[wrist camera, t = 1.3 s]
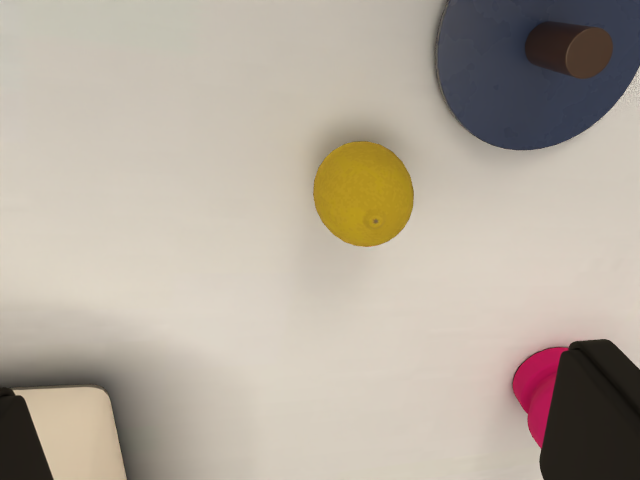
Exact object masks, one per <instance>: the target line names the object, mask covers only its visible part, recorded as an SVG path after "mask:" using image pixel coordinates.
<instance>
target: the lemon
mask: <svg viewBox="0 0 640 480" xmlns="http://www.w3.org/2000/svg"><path fill="white" fill-rule="evenodd" d="M313 196H314V201H315V206H316V210H317V212H318V214H319V216H320V218H321V220H322V222H323V223H324V225H325V226H326V227H327V228H328V229H329V230H330V231H331V232H332V233H333V234H334V235H335V236H336V237H338V238H340V239H341V240H343V241H344V242H347V243H350V244H353V245H356V246H364V247H369V246H376V245H380V244H382V243H385V242H387V241H389V240H390V239H392V238H394V237H395V236H396V235H397V234H398V233H399V232H400V231H401V230H402V229H403V228H404V227H405V225H406V223H407V222H408V220H409V218H410V215H411V212H412V208H413V197H414V191H413V186H412V182H411V178H410V175H409V173H408V171H407V169H406V168H405V166H404V164H403V162H402V161H401V160H400V159H399V158H398V157H397V156H396V155H395V154H394V153H393V152H392V151H390V150H389V149H387V148H385V147H383V146H381V145H379V144H376V143H372V142H367V141H359V142H351V143H347V144H344V145H342V146H340V147H338V148H336V149H335V150H333V151H332V152H331V153H330V154H329V155H328V156H327V157H326V158H325V159H324V161H323V162H322V164H321V165H320V167H319V168H318V171H317V174H316V177H315V180H314V191H313Z"/></svg>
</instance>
